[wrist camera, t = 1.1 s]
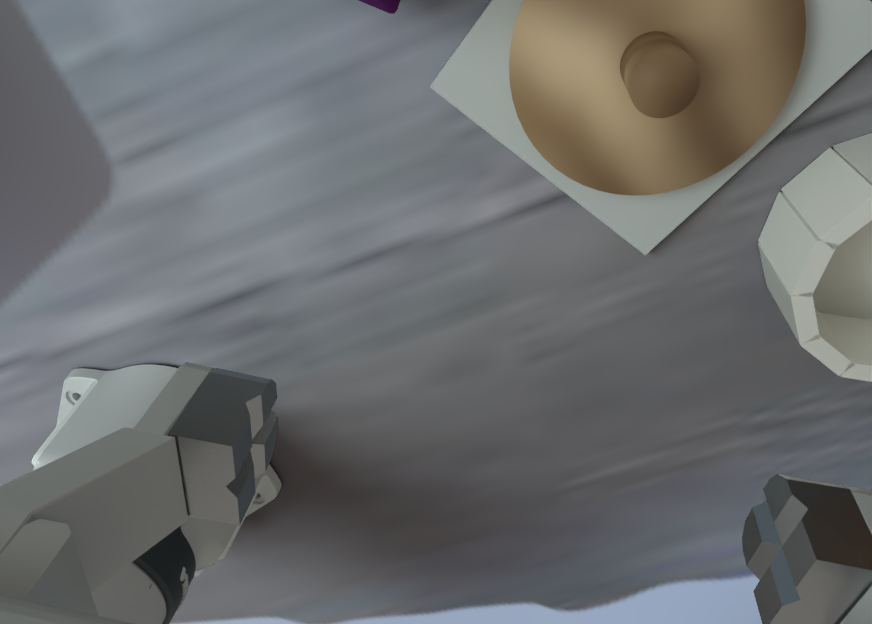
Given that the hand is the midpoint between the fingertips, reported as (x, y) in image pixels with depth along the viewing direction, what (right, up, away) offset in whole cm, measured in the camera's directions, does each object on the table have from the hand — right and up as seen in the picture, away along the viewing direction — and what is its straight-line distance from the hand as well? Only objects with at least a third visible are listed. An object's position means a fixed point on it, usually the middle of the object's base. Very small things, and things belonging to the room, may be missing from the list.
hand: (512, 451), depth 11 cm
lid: (+9, +15, +23) cm, 29 cm away
